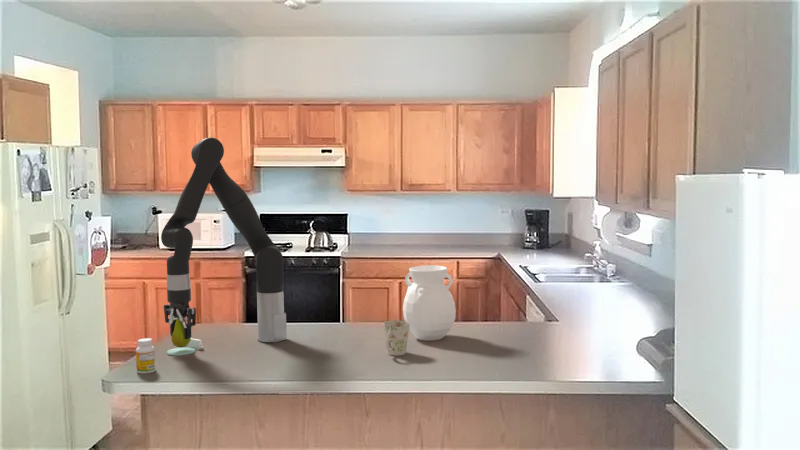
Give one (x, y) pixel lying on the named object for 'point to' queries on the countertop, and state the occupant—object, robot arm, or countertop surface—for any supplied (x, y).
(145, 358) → the supplement bottle
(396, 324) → the mug
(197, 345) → the rail
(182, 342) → the fruit
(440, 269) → the white handled vase
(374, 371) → the countertop surface
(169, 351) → the pad
